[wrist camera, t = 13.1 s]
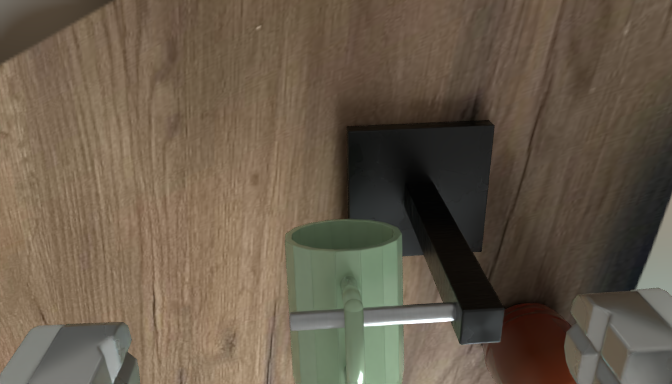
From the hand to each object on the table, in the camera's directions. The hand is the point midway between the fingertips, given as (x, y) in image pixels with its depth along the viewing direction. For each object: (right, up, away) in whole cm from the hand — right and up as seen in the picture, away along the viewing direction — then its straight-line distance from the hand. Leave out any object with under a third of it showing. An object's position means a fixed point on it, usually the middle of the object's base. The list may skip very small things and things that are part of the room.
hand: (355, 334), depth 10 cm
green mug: (0, -9, +21) cm, 23 cm away
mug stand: (+3, +3, +30) cm, 30 cm away
